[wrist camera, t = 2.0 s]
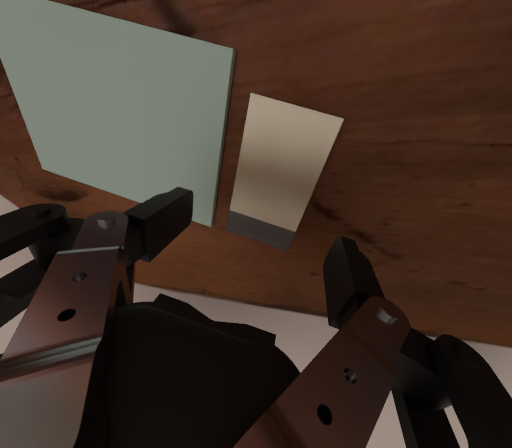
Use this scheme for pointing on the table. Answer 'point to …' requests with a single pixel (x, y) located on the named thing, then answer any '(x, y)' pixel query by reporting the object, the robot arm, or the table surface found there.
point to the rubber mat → (119, 100)
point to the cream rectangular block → (278, 168)
